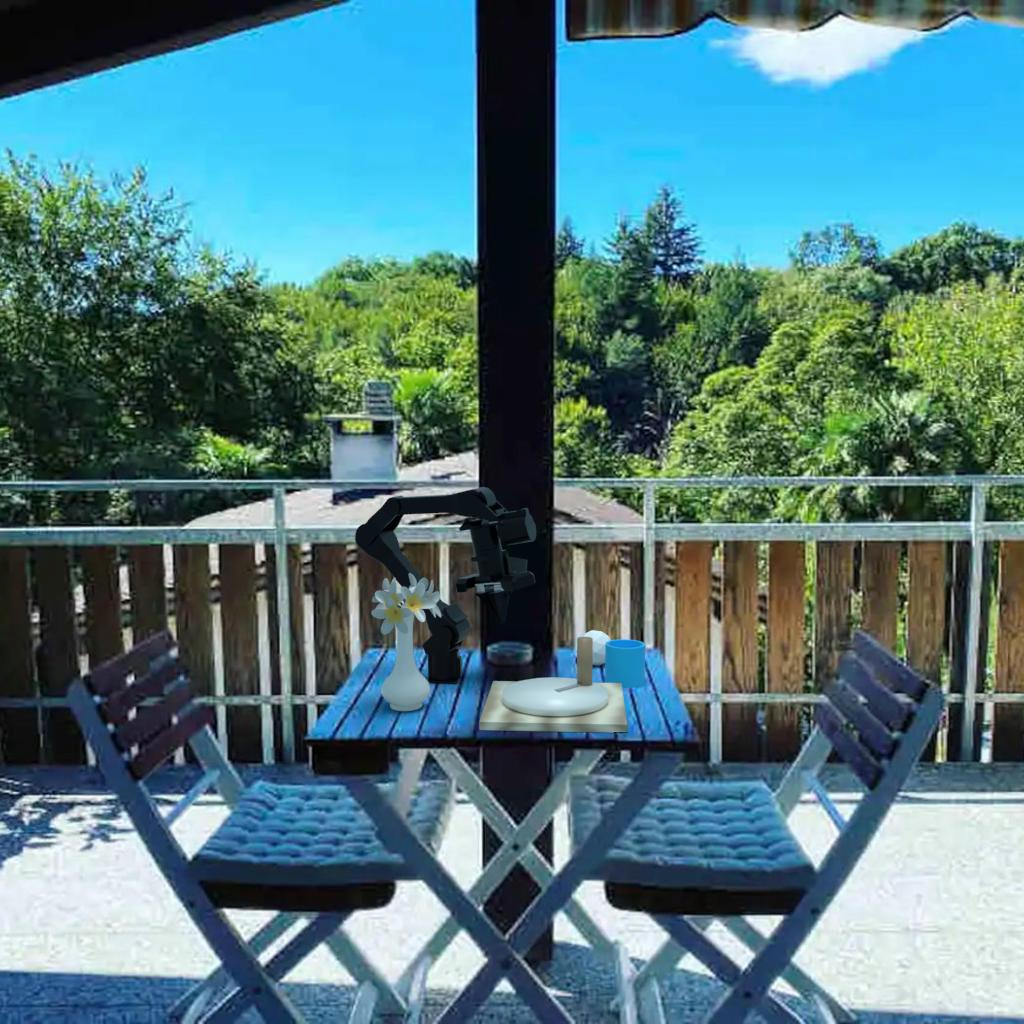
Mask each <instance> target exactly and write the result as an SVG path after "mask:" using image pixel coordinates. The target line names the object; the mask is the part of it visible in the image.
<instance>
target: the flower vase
mask: <svg viewBox="0 0 1024 1024" xmlns="http://www.w3.org/2000/svg"><path fill="white" fill-rule="evenodd" d="M409 579H410V583H411V586H409V589H408V588H407V587H401V586H400V585H398V584H397V581H396V578H394V577H393V579H392V581H391V583H390V582H389V578H387V577H385V578H384V579H383V581H382V584H381V587H382V590H376V591H375V593H374V596H373V597H372V599H371V602H372V603H378V604H376V606H375V609H373V610H372V611H371V612H370V613H371V616H372V617H374V618H376V619H379V620H382V619H383V622H382V624H381V625H380V626H381V627H380V633H381V634H382V635H388V634H390V632H392V630H393V629H394V627H396V635H397V636H396V645H397V646H396V657H395V658H396V659H395V663H394V666H393V668H392V671H391V673H390V674H388V676H387V677H386V678H385V680H384V681H383V683H382V685H381V695H382V697H383V699H384V700H385V701H386V702H387V703H389V708H390V709H391V710H393V711H397V712H411V711H417V710H420V709H421V708H422V707H423V702H424V701H426V699H427V698H428V697H429V696H430V693H431V686H430V682H428V680H427V678H426V677H425V675H423V674H422V672H420V670H419V668H418V666H417V662H416V660H415V659H416V658H415V651H414V635H413V634H414V630H413V628H414V620H415V618H416V619H417V620H418V621H419V622H420V623H424V622H426V616H425V613H424V611H423V610H422V609H429V610H430V611H431V612H432V614H433V615H434V617H435V618H436V614H437V615H438V616H439V617H440V618H441V612H440V610H439V608H438V606H437V605H436V603H437V602H438V601H439V599H441V594H440V592H439V591H438V590H436V591H434V587H435V586H434V585H435V583H434V580H433V579H431V581H430V584H429V580H428V579H427V578H426V577H423V578H422V579H421V580H420V581H419V582H418V584H417V581H416V579H415V577H414V576H413V575H412V574H411V573H409ZM416 584H417V585H416ZM428 585H429V586H430V587H429V590H428V591H426V592H425V590H426V589H427V587H428ZM433 591H434V593H432V592H433ZM435 613H436V614H435Z"/></svg>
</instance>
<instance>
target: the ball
mask: <svg viewBox="0 0 1024 1024" xmlns="http://www.w3.org/2000/svg"><path fill="white" fill-rule="evenodd" d="M581 637H591V638H593V666H598V667H599V666H601V665H603V664H605V643H606V642H608V641H611V638H610V636H609V635H607V634H606V633H605V632H603V631H600V630H594V629H591V630H590V631H588V632H585V633H584V634H582V636H581Z"/></svg>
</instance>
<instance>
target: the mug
mask: <svg viewBox="0 0 1024 1024" xmlns="http://www.w3.org/2000/svg"><path fill="white" fill-rule="evenodd" d="M610 640H611V639H610ZM604 666H605V667H604V673H605V675H604V678H605V679H604V680H605V681H604V683H621V684H622V689H623V688H624V689H628V688H629V689H632V688H638V687H641V686H644V685H645V683H646V678H645V677H646V676H645V675H646V674H645V673H646V672H645V671H646V670H645V669H646V643H645V642H643V641H641V640H636V639H628V638H627V639H626V638H625V639H624V638H623V639H612V640H611V641H608V642H606V643H605V663H604Z"/></svg>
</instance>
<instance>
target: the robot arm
mask: <svg viewBox="0 0 1024 1024" xmlns="http://www.w3.org/2000/svg"><path fill="white" fill-rule="evenodd" d="M425 514H426V515H427V514H429V515H430V514H452V515H456V516H460V517H466V518H464V521H463V523H462V524H461V525H460V526H459V529H458V530H459V531H460V532H464V531H468V530H469V532H470V538H471V544H472V547H473V548H472V549H473V555H474V556H470V561H471V562H472V563H474V562H475V563H476V568H477V573H472V574H469V575H467V576H463V577H460V578H458V579H457V581H456V582H455V587H456V593H458V594H459V593H467V592H468V591H469V590H471V589H473V588H476V592H474V595H475V596H476V597H478V598H479V600H481V602H482V603H483V604H484V605H485V607H487V609H488V611H490V612H491V614H492V616H493V617H494V618H495V619H496V621H497V622H498V623H499V624H504V623H505V622H506V621H507V613H508V612H507V611H508V605H509V600H510V596H511V594H512V593H513V592H514V591H517V590H520V589H524V588H527V587H529V586H533V585H535V584H536V579H535V574H534V573H533V572H531V571H530V570H528V559H524V558H520V557H511V556H509V551H507V549H503V547H502V543H505V545H506V546H510V545H517V544H524V543H529V542H531V543H532V542H535V540H536V539H537V526H536V522H535V521H534V518H533V517H532V515H531V514H530V511H529V508H528V507H525V508H521V509H518V510H513V511H508V510H507V509H506V508H505V507H504V506H503V505H502V504H501V503H500V502H499V501H498V500H497V498H496V495H495V494H494V492H493V491H492V490H491V489H490V488H488V487H484V486H483V487H476V488H473V489H468V490H464V491H459V492H455V493H452V494H435V495H434V494H433V495H432V494H431V495H414V496H413V495H412V496H403V495H397V496H392V497H389V498H388V499H386V501H385V502H384V503H383V505H381V507H380V508H379V509H378V510H377V511H376V512H374V514H372V515H371V516H370V517H369V518H368V520H367V521H366V522H365V523H363V524H361V525H359V526H358V527H357V529H356V531H355V535H354V537H355V538H354V541H355V544H356V545H357V547H359V549H360V550H362V551H363V552H364V553H365V554H366V555H367V556H369V557H370V558H371V559H373V560H375V561H377V562H379V563H380V564H382V565H383V566H384V567H385V569H386V570H388V571H389V574H390V575H391V576H392V578H393V579H394V578H396V583H398V584H399V586H400V587H407V588H408V589H409V586H411V583H410V579H409V573H411V574H412V575H413V576H414V577H415V579H416V581H417V584H418V582H419V581H420V580H421V579H422V578H424V577H423V576H422V575H421V573H420V572H419V571H418V570H417V568H415V566H414V564H412V563H411V562H410V560H409V559H408V558H407V557H406V554H404V552H402V549H401V547H400V543H399V539H398V537H397V535H396V533H395V530H397V528H398V527H399V525H400V524H401V521H402V519H403V517H404V516H406V515H425ZM473 518H475V520H474V519H473ZM476 518H479V519H476ZM492 520H497V521H492ZM501 542H502V543H501ZM417 584H416V585H417ZM429 587H430V584H428V587H427V589H426V590H425V592H426V591H428V590H429ZM434 592H435V590H433V592H432V593H434ZM436 605H437V606H438V608H439V610H440V612H441V618H440V617H439V616H438V615H437V614H436V613H435V614H436V618H435V617H434V615H433V614H432V612H431V611H430V610H429V609H422V610H423V611H424V613H425V616H426V619H425V622H426V624H427V628H428V630H429V632H430V634H431V636H429V638H427V640H426V641H425V642H424V643H422V649H423V650H424V653H425V655H427V678H426V679H427V680H428V682H429V683H433V684H434V683H436V684H437V683H440V684H442V683H443V684H445V683H447V684H452V683H453V684H457V683H458V682H459V679H461V678H462V675H463V657H462V656H461V655H460V647H462V645H463V642H464V640H466V639H467V638H468V636H469V635H470V632H471V629H470V628H471V625H470V622H469V620H468V618H469V615H467V614H466V613H464V612H463V610H462V609H461V607H460V606H459V604H458V603H457V602H453V603H451V604H447V603H446V602H444V601H443V600H442V599H441V598H440V599H439V601H438V602H437V603H436Z"/></svg>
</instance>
